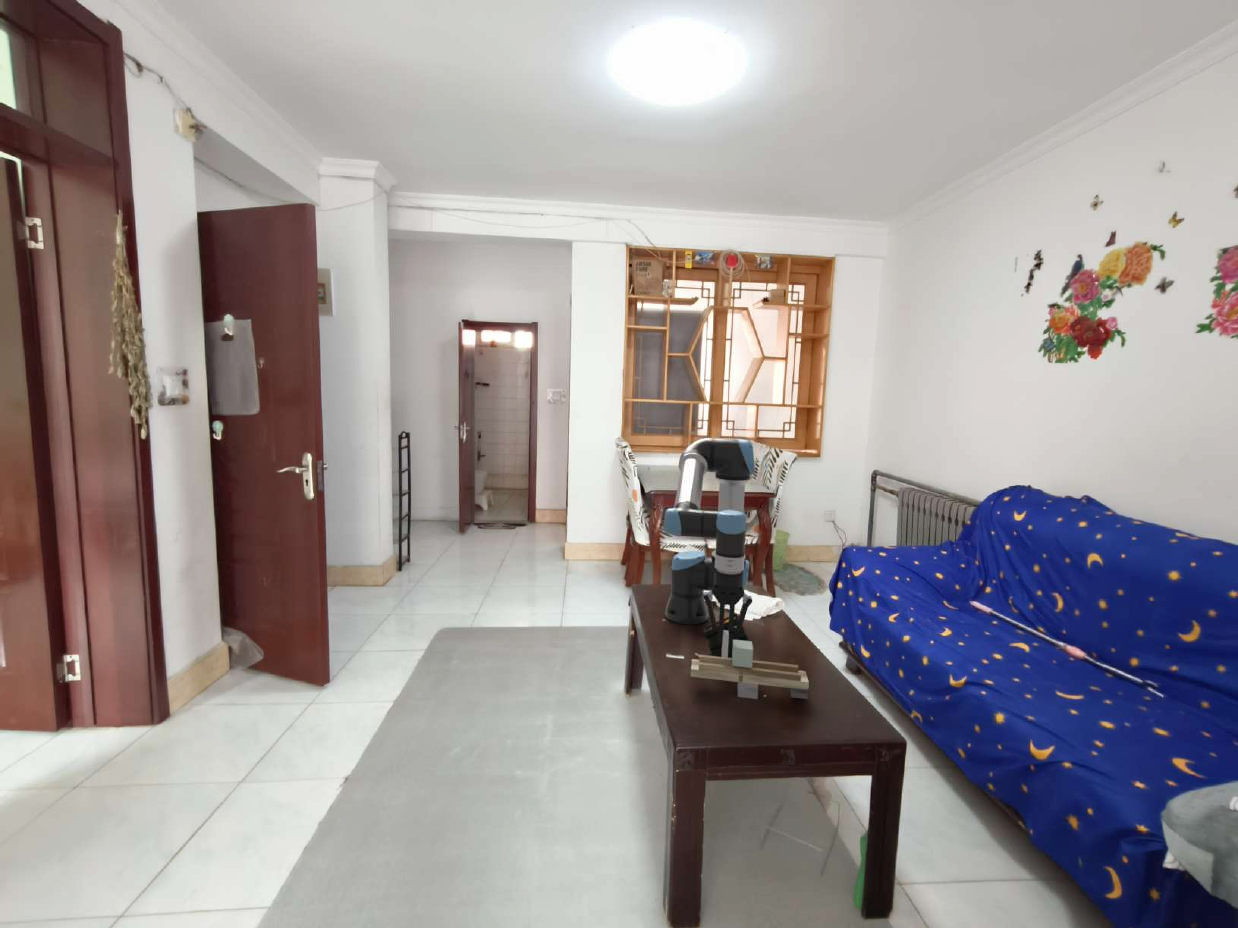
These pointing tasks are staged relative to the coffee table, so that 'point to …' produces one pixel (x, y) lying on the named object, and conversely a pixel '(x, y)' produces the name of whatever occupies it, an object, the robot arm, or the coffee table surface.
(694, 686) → the coffee table surface
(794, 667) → the beam
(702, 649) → the coffee table surface
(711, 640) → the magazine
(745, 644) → the block
